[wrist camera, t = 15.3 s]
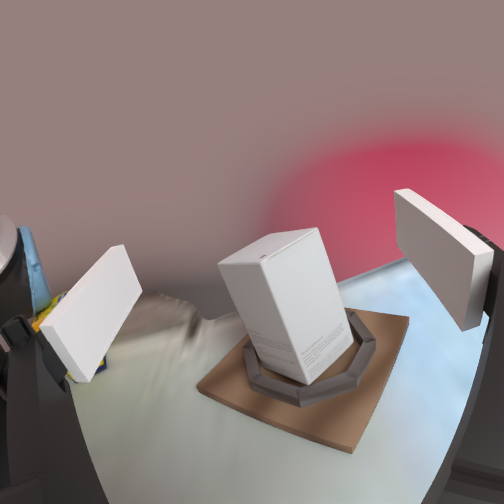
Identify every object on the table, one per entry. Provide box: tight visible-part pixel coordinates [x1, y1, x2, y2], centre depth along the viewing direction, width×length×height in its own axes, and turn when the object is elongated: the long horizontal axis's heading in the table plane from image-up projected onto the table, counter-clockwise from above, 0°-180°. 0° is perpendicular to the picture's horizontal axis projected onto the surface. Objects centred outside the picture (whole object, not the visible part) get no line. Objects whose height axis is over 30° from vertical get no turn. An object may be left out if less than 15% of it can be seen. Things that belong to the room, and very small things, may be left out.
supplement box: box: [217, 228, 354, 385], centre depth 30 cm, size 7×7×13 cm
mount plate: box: [196, 308, 409, 454], centre depth 32 cm, size 18×18×3 cm
